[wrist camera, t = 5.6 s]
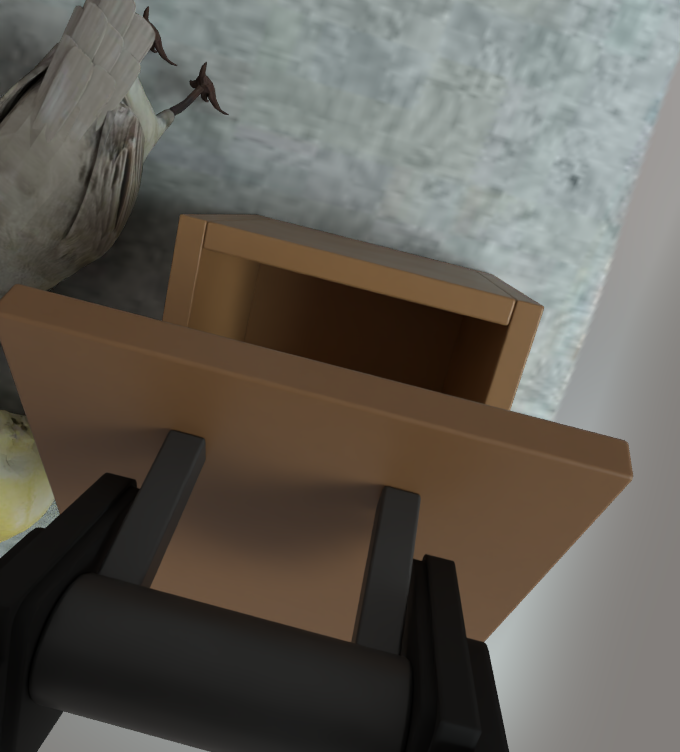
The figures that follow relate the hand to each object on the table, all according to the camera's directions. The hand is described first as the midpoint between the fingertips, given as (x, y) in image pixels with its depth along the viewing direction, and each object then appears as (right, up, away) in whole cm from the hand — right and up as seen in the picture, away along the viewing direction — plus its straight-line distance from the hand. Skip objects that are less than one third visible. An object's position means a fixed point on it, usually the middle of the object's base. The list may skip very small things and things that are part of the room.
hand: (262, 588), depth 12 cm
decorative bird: (-10, +12, +16) cm, 22 cm away
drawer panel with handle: (0, -1, +4) cm, 4 cm away
